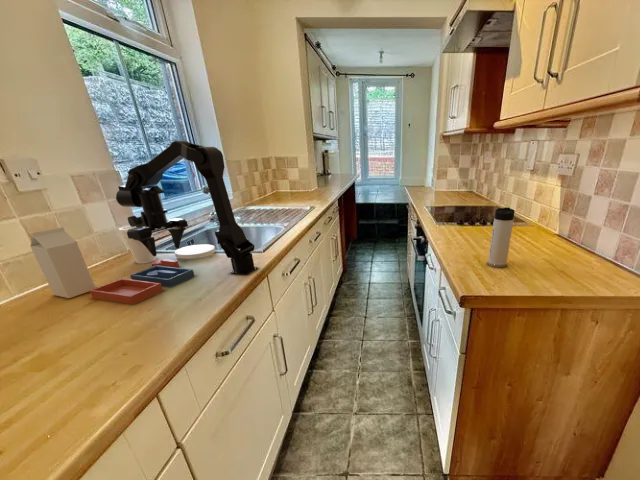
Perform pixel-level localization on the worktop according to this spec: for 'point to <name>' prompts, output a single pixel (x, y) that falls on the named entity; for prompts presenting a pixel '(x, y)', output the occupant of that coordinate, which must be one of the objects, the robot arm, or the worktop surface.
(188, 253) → the plastic lid
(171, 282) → the blue tray
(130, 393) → the worktop surface
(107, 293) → the terracotta tray
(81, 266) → the milk carton
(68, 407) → the worktop surface
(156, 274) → the blue spoon
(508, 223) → the travel mug
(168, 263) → the terracotta spoon
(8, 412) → the worktop surface
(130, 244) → the foam cup
